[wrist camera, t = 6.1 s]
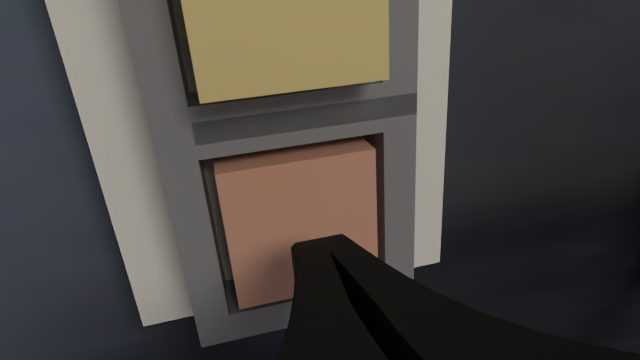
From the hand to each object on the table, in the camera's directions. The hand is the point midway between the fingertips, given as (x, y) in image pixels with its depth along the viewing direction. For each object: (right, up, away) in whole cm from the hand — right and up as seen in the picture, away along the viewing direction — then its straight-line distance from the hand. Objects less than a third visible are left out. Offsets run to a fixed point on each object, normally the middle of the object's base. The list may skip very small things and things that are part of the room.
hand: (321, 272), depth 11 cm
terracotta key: (-1, +1, +3) cm, 4 cm away
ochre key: (-1, +7, 0) cm, 7 cm away
